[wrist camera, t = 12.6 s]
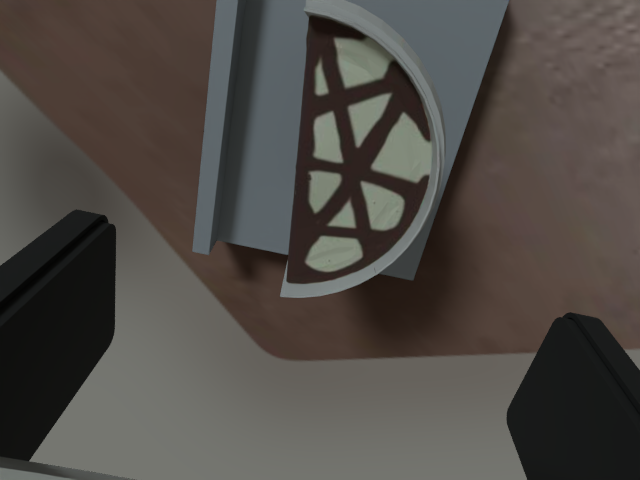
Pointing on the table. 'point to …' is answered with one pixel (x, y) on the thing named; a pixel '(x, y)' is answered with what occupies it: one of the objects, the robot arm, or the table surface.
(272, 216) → the stand
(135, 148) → the table surface
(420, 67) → the food container
